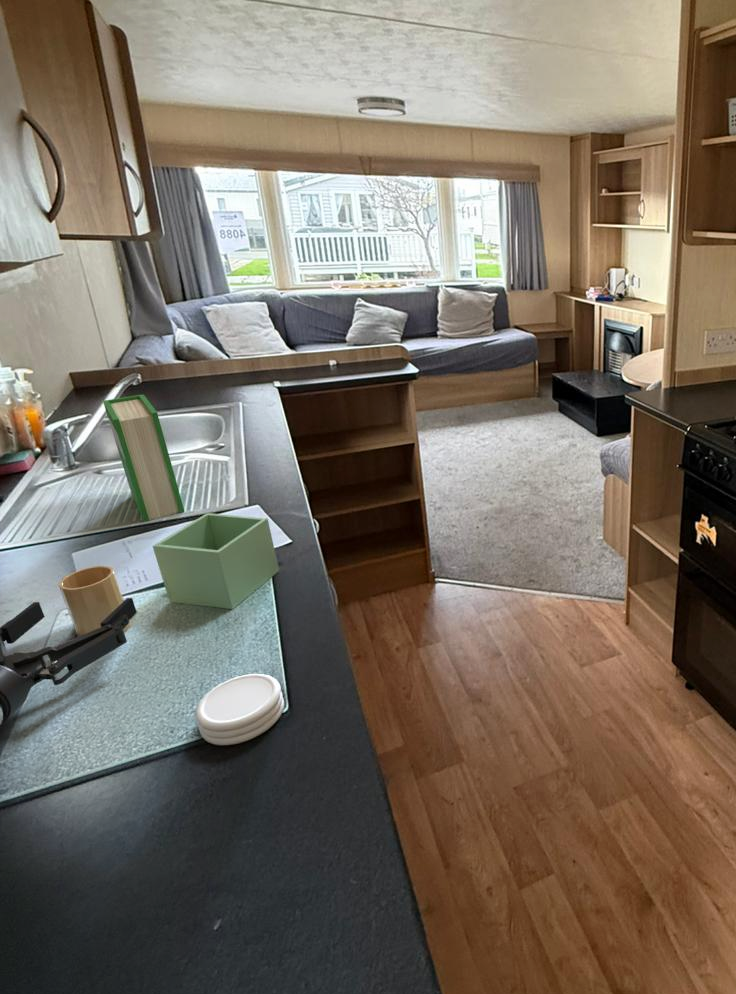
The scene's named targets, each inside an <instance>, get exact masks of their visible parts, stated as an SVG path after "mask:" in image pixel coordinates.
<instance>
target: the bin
mask: <svg viewBox="0 0 736 994" xmlns="http://www.w3.org/2000/svg"><path fill="white" fill-rule="evenodd" d="M152 549H153V552H154V555H155V559H156V562H157V565H158V568H159V573H160V576H161V579H162V582H163V586H164V589H165V591H166V595H167V598H168V602H170V603H176V604H177V603H178V604H185V605H194V606H201V607H202V606H203V607H211V608H219V609H226V610H227V609H228V610H234V609H235V608H237V607H238V606H239V605H240V604H241V603H243V602H244V601H245V600H246V599H248V598H249V597H250V596H251V595H252V594H253V593H255V592H256V591H257V590H258V589H260V588H261V587H262V586H263V585H265V583H267V582H268V581H269V580H270V579H271V578H272V577H274V576H275V575H276V574H277V573H279V572H280V568H279V562H278V558H277V554H276V550H275V544H274V541H273V536H272V533H271V526H270V523H269V518H266V517H255V516H245V515H244V516H243V515H233V514H224V513H223V514H221V513H219V514H218V513H211V512H210V513H209V512H206V513H205V514H203V515H202V516H200V517H198V518H197V519H195V520H193V521H191V522H190V523H189V524H186V525H185V526H183V527H181V528H180V529H178V530H176V531H175V532H173V533H172V534H170V535H168V536H167V537H165V538H164V539H162V540H160V541H158V542H156V543H155V544H154V545H152ZM261 585H262V586H261ZM255 590H256V591H255Z"/></svg>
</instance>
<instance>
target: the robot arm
mask: <svg viewBox="0 0 736 994" xmlns="http://www.w3.org/2000/svg"><path fill="white" fill-rule="evenodd" d="M137 613H138V611H137V609H136V605H135V603H134V599H133V597H127V598H125V599H124V601H123V602H122V603H121V604H120V605H119V606H118V607H117V608H116V609H115V610H114V611H113V612H112V613H111V614H110V615H109V616H108V617H107V618H106V619H105V620H103V621H102V622H101V623H100V625H101V627H100V628H98V629H96V630H93V631H91V632H89V633H86V634H84V635H82V636H79V637H78V636H77V637H75V638H72V639H70V640H68V641H65V642H63V643H61V644H58V645H56V646H50V645H49V646H46V647H43V648H41V649H39V650H36V651H30V652H29V651H28V652H13V653H12V654H9V655H7V654H8V653H7V648H6V644H7V645H8V644H9V645H11V644H14V643H15V642H17V641H18V640H19V639H20V638H21V637H23V636H24V635H25V634H26V633H27V632H29V631H30V630H31V629H32V628H33V627H34V626H36V625H37V624H38V623H40V622H41V621H42V620H43V619H44V618H45V617H46V616H45V613H44V611H43V609H42V606H41V603H40V602H39V601H34V602H32V603H31V604H30V605H28V606H27V607H25V608H24V609H23V610H22V611H21V612H19V613H18V614H17V615H15V616H14V617H13V618H12V619H10V620H8V621H7V622H5V623H4V624H3V625H1V626H0V726H1V725H2V724H3V723H4V722H6V721H7V720H8V719H9V718H10V717H11V716H12V715H13V714H14V713H15V712H16V711H18V710H19V709H20V707H22V705H24V703H25V702H26V700H27V698H28V696H29V694H30V691H31V689H32V688H33V687H34V686H36V685H37V684H40V683H41V682H43V681H44V680H51V681H52V684H53V685H55V686H59V685H61V684H63V683H65V682H66V681H67V680H68V679H69V678H70V677H72V676H73V675H74V674H76V673H78V672H79V671H81V670H82V669H84V668H86V667H87V666H90V665H91V664H92V663H94V662H96V661H97V660H99V659H102V658H103V657H104V656H106V655H108V654H110V653H111V652H113V651H114V650H116V649H118V648H120V647H122V646H123V645H126V643H127V642H128V639H127V637H126V634H125V632H124V631H123V629H124V628H125V627H126V626H127V625H128V624H129V620H130V621H131V619H132V618H133V617H135V615H136V614H137ZM5 642H6V643H5ZM45 656H48V660H49V661H50V665H48V666H47V664H46V661H45V658H44V657H45Z"/></svg>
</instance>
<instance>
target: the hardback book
mask: <svg viewBox="0 0 736 994" xmlns="http://www.w3.org/2000/svg"><path fill="white" fill-rule="evenodd" d="M102 403H103V406H104V409H105V412H106V417H107V419H108V423H109V425H110V428H111V431H112V435H113V438H114V440H115V444H116V448H117V451H118V455H119V458H120V461H121V465H122V467H123V468H122V469H123V470H124V474H125V477H126V480H127V484H128V487H129V490H130V494H131V497H132V498H133V501H134V503H135V505H136V507H137V509H138V512H139V514H140V516H141V518H142V520H143V522H144V523H148V522H150V521H151V520H154V519H158V518H163V517H166V516H170V515H174V514H177V513H179V514H182V513H185V512H186V511H185V508H184V504H183V501H182V500H183V499H182V497H181V494H180V489H179V486H178V483H177V479H176V476H175V475H176V474H175V471H174V467H173V465H172V461H171V457H170V454H169V450H168V446H167V443H166V438H165V436H164V431H163V429H162V424H161V422H160V418H159V413H158V411H157V410H156V409H155V407H154V406H153V405H152V404H151V402H150V401H149V400H148V398H147V397H146V396H145V394H137V395H131V396H124V397H118V398H111V399H106V400H102Z"/></svg>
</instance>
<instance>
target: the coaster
mask: <svg viewBox="0 0 736 994" xmlns="http://www.w3.org/2000/svg"><path fill="white" fill-rule="evenodd" d="M284 707H285V700H284V697H283V692H282V687H281V684H280V682H279V681H278V680H277V679H276V678H274V677H272V676H271V675H267V674H261V673H250V674H244V675H240V676H236V677H233V678H230V679H228V680H226V681H223V682H222V683H220V684H217V686H215V687H214V688H212V689H211V690H209V691H208V692H207V693H206V694H204V696H203V697H202V698H201V700H200V701H199V702H198V704H197V705H196V709H195V721H196V722H197V727H198V729H199V733H200V736H201V737H202V738H203V739H204V741H206V742H207V743H210V744H212V745H215V746H231V745H237V744H242V743H244V742H248V741H250V740H252V739H255V738H257V737H259V736H261V735H262V734H264V733H265V732H267V731H268V730H269V729H271V728H272V727H273V726H274V724H276V723H277V722H278V720H279V719H280V718H281V716H282V714H283V711H284Z"/></svg>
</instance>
